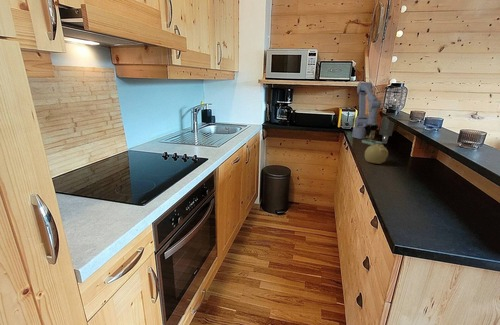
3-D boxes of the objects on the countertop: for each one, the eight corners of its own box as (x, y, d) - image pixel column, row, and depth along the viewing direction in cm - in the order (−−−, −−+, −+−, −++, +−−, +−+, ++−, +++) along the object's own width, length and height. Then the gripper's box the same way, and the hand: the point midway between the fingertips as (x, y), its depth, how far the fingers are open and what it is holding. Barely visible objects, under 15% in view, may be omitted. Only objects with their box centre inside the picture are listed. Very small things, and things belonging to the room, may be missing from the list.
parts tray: (361, 142, 197) (361, 140, 196) (370, 141, 200) (370, 139, 200) (374, 145, 186) (374, 143, 186) (383, 144, 190) (383, 142, 189)
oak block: (365, 137, 195) (367, 129, 193) (369, 137, 197) (371, 129, 195) (370, 138, 192) (371, 130, 190) (374, 138, 193) (375, 130, 191)
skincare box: (378, 134, 227) (381, 116, 223) (385, 134, 229) (388, 116, 225) (386, 136, 220) (389, 117, 215) (392, 136, 222) (396, 117, 217)
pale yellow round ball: (389, 166, 142) (392, 147, 139) (365, 164, 144) (368, 146, 141) (383, 160, 153) (386, 142, 149) (361, 158, 155) (364, 141, 151)
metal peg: (380, 143, 196) (382, 135, 194) (384, 142, 197) (385, 134, 195) (384, 144, 193) (386, 136, 191) (388, 143, 194) (389, 135, 192)
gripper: (369, 118, 184) (366, 137, 188) (384, 117, 189) (381, 135, 193) (362, 117, 190) (359, 135, 194) (376, 116, 195) (373, 133, 199)
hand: (369, 135), depth 194 cm, fingers closed on oak block, 4 cm apart
